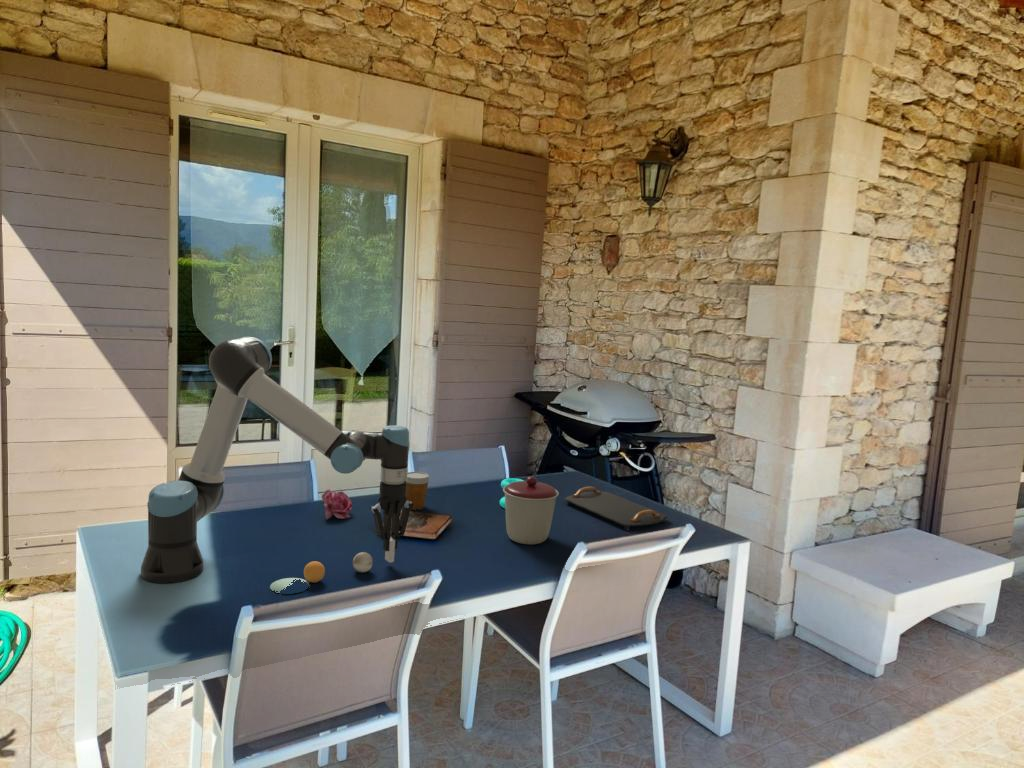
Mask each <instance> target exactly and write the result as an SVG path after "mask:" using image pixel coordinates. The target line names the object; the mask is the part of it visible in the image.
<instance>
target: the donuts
mask: <svg viewBox="0 0 1024 768" xmlns="http://www.w3.org/2000/svg"><path fill="white" fill-rule="evenodd" d="M517 481H525V480H523V479H521V478H516V477H515V478H513V477H512V478H509V477H508V478H505V479H502V480H501V483H500V487H501V488H502V489H503V488H504V487H505V486H506V485H509V484H510V483H513V482H517ZM499 505H500V507H502V508H503V509H504V510H505V496H502V497H501V498H500V500H499Z"/></svg>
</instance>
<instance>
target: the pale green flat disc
mask: <svg viewBox="0 0 1024 768" xmlns="http://www.w3.org/2000/svg"><path fill="white" fill-rule="evenodd" d="M295 579H296V580H299V579H300V580H301V582H303V581H304V582H306V583H307V584H308V585H309V583H310V582H309V581H307V580H306V579H303V578H299V577H286V578H285V577H284V578H281V579H277V580H276V581H273V582H272V583H271V584H270V585H269V590H270V589H271V590H272V591H274V590H275V592H276V591H278V592H276V593H280V591H281V590H283V589H284V588H285V589H286V587H287V586H290V585H292V584H293V583H291V582H293V580H295ZM296 580H295V581H296ZM295 581H294V582H295ZM304 582H303V583H304ZM289 584H290V585H289ZM309 586H310V587H311V584H310V585H309ZM285 589H284V590H285ZM271 590H270V591H271ZM272 591H271V592H272ZM276 593H275V594H276Z"/></svg>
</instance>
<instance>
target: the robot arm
mask: <svg viewBox="0 0 1024 768" xmlns="http://www.w3.org/2000/svg"><path fill="white" fill-rule="evenodd" d="M272 356H273V355H272V352H271V350H270V349H269V346H268V345H267V344H266V342H264V341H262V340H261V339H259V338H257V337H253V336H241V337H238V338H234V339H228V340H224V341H222V342H220V343H218V344H216V346H214V348H213V349H212V351H211V352H210V354H209V358H208V366H209V371H210V372H211V374H212V376H213V379H214V380H215V382H216V385H217V387H216V390H215V394H213V395H214V396H213V399H212V401H211V404H210V407H209V410H208V413H207V415H206V419H205V421H204V425H203V427H202V428H201V429H202V430H201V431H200V432H201V433H200V435H199V437H198V438H199V439H198V441H197V443H196V447H195V450H194V452H193V455H192V458H191V460H190V462H189V463H187V464H185V465H183V466H182V469H181V472H180V474H179V477H178V480H170V481H167V482H165V483H164V482H163V483H159V484H158V485H156V486H155V487H153V488H152V489H151V490H150V491H149V493H148V501H147V503H146V505H147V523H148V524H147V527H148V528H147V532H148V535H147V538H148V540H147V542H148V544H147V548H146V551H145V554H144V557H143V561H142V563H141V566H140V577H141V578H142V579H143V580H145V581H146V582H150V583H155V584H156V583H157V584H170V583H169V582H173V583H180V582H184V580H185V581H187V579H188V580H191V579H193V577H194V578H196V577H197V576H199V575H200V574H202V573H203V572H204V565H205V562H204V558H203V556H202V553H201V550H200V547H199V544H198V542H197V541H198V539H197V538H198V537H197V534H198V531H197V530H198V522H199V521H200V520H202V519H203V518H204V517H206V516H207V515H209V514H211V513H212V512H213V511H215V510H216V509H217V507H219V506H220V504H221V502H222V501H223V499H224V496H225V485H224V483H225V481H226V475H225V473H224V472H223V469H224V467H225V465H226V461H227V459H228V455H229V453H230V450H231V447H232V444H233V441H234V439H235V436H236V434H237V433H236V432H237V430H238V428H239V426H240V422H241V419H242V416H243V413H244V411H245V408H246V405H247V402H248V400H249V401H250V402H251V403H253V404H254V405H255V406H257V407H258V408H260V409H261V410H262V411H264V412H265V413H266V414H268V415H269V416H270V417H272V418H273V419H275V420H276V421H277V422H279V424H281V425H282V426H284V427H286V428H287V429H288V430H289V431H291V432H292V433H294V434H295V436H298V437H299V438H300V439H302V440H303V441H304V442H306V443H307V444H308V445H310V446H311V447H313V448H314V449H315V450H317V451H318V452H319V453H321V454H322V455H323V456H324V457H326V458H327V459H329V460H330V464H331V466H332V468H333V469H334V470H335V471H336V473H337V472H338V473H340V474H345V475H347V474H351V473H353V472H354V471H356V470H358V468H360V467H361V466H362V464H363V463H364V461H365V460H366V459H367V460H380V472H379V473H380V474H379V479H380V482H379V498H378V501H377V503H376V504H375V505H370V507H369V510H370V512H371V513H372V514H373V521H374V526H375V532H376V536H377V537H378V538H379V539H380V540H383V541H382V542H383V543H382V549H383V551H385V552H384V553H385V554H384V560H385V561H386V562H387V563H394V562H395V554H396V553H395V550H397V549H398V541H399V540H400V538H401V537H403V536H404V535H405V532H406V529H407V525H408V521H409V518H410V514H411V512H412V508H413V506H414V504H413V503H412V502H410V501H407V498H406V491H407V482H406V480H407V473H408V468H409V467H408V466H409V451H410V431H409V428H408V427H406V426H404V425H386V426H383V428H382V431H381V432H374V431H372V432H371V431H360V430H354V429H352V430H340V429H339V428H337V427H336V426H335V425H334V424H332V423H331V422H330V421H328V420H326V418H324V417H322V416H321V415H320V414H318V413H317V412H316V411H314V410H313V409H312V408H310V406H308V405H307V404H305V403H304V402H303V401H302V400H301V399H299V398H297V397H296V396H295V395H293V394H292V393H291V392H289V391H288V390H286V389H285V388H284V387H283V386H281V385H280V384H278V382H276V381H275V380H273V379H272V378H270V376H268V375H266V374H267V373H268V371H269V370H270V368H271V366H272V362H273V357H272ZM381 510H382V514H383V519H382V515H381ZM195 576H196V577H195ZM179 581H180V582H179Z"/></svg>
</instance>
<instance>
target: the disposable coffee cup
mask: <svg viewBox="0 0 1024 768" xmlns="http://www.w3.org/2000/svg"><path fill="white" fill-rule="evenodd" d="M429 475H430V474H428V473H426V472H421V471H409V472H408V471H407V480H406V482H407V491H406V498H407V501H410V502H412V503H413V504H414V506H413V508H412V509H411V511H412V510H414V511H415V510H416V509H419V510H422V509H421V508H423V507H424V508H425V502H426V497H427V493H428V492H427V491H428V485H429V483H430V480H431V477H430V476H429ZM424 508H423V509H424ZM416 511H417V510H416Z"/></svg>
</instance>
